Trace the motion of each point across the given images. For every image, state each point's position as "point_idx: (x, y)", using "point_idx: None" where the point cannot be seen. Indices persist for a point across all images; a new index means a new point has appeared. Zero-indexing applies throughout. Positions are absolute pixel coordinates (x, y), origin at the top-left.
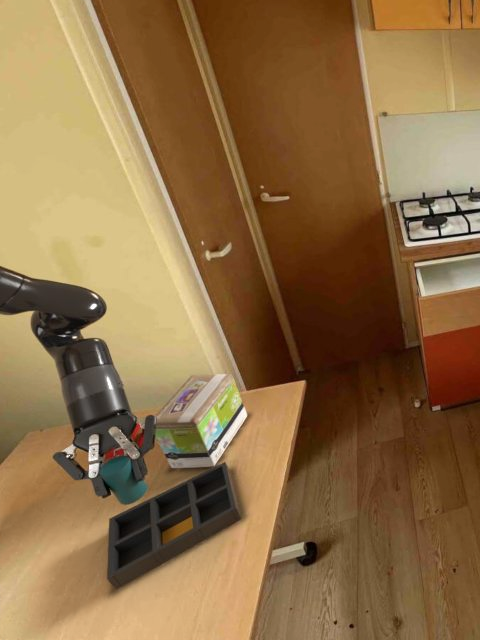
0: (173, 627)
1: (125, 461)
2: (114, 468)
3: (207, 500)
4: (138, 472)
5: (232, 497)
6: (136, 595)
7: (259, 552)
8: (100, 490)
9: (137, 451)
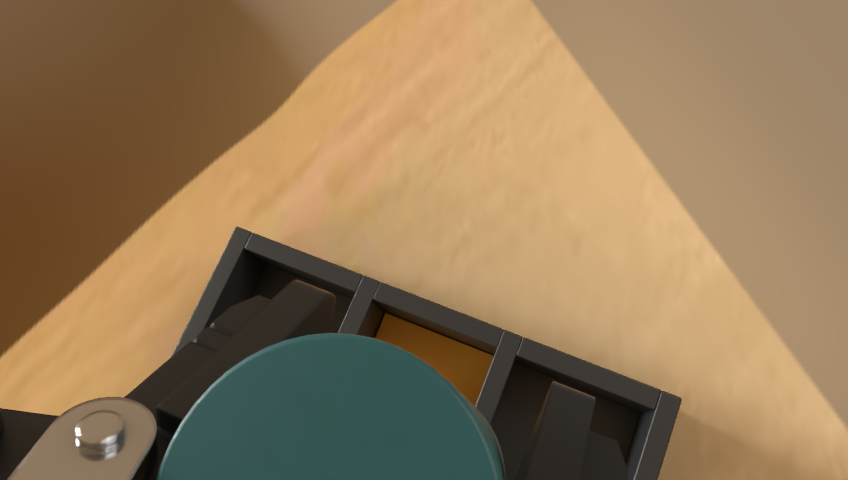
0: (588, 96)
1: (214, 436)
2: (347, 451)
3: None
4: (264, 317)
5: (209, 289)
6: (620, 307)
7: (318, 82)
8: (580, 439)
9: (37, 444)
